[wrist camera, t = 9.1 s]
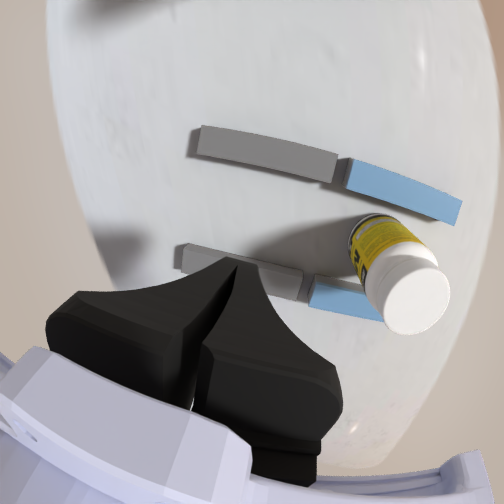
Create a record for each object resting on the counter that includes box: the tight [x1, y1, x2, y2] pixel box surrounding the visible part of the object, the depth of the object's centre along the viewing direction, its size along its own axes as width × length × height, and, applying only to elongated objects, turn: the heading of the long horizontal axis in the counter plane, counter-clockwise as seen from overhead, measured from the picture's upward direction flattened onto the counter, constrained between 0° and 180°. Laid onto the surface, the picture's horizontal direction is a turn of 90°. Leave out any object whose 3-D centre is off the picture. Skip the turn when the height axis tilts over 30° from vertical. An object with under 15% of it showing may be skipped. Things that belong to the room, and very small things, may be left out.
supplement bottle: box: [348, 213, 450, 335], centre depth 16 cm, size 5×5×8 cm
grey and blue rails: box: [181, 125, 462, 322], centre depth 19 cm, size 11×19×2 cm, turn 78°
